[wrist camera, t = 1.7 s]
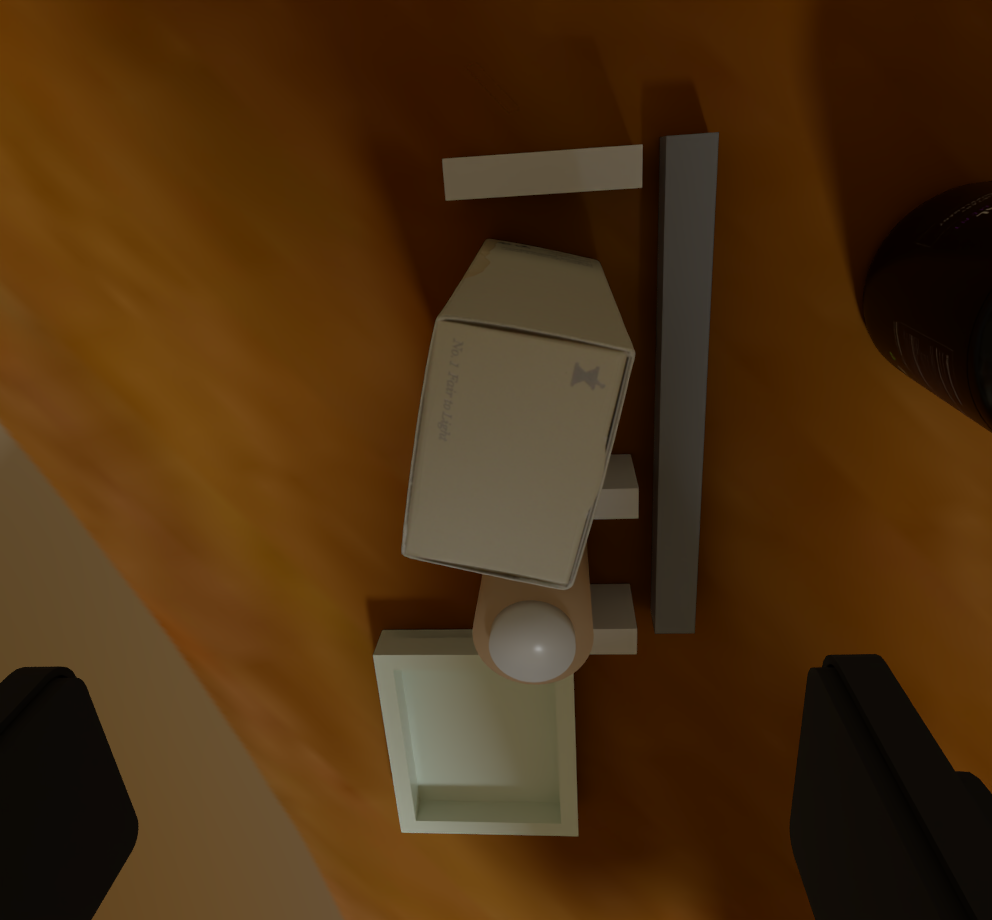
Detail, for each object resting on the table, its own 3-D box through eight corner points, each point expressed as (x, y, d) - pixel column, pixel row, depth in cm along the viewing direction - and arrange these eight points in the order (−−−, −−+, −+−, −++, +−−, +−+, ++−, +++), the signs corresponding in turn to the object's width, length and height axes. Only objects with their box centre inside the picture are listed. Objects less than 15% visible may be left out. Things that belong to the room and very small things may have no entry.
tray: (572, 628, 32) (573, 654, 30) (577, 805, 36) (578, 836, 34) (382, 630, 33) (372, 655, 31) (408, 802, 37) (401, 832, 35)
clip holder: (709, 133, 24) (730, 130, 21) (688, 610, 31) (701, 658, 28) (455, 152, 25) (441, 151, 22) (492, 612, 32) (485, 658, 29)
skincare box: (485, 235, 26) (428, 296, 15) (607, 260, 26) (643, 341, 15) (456, 400, 28) (389, 560, 17) (567, 422, 28) (573, 597, 17)
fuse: (585, 489, 29) (593, 594, 22) (587, 574, 31) (595, 697, 24) (487, 491, 30) (465, 595, 23) (493, 575, 31) (475, 696, 24)
